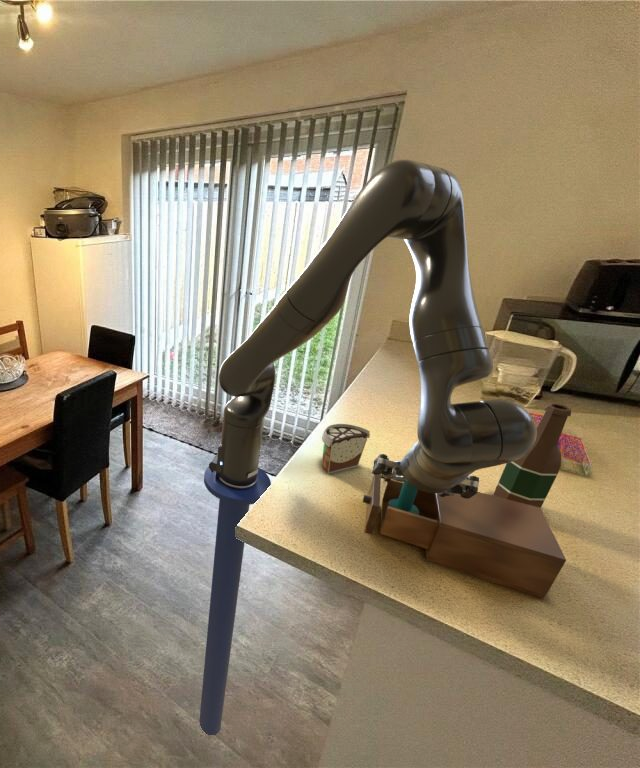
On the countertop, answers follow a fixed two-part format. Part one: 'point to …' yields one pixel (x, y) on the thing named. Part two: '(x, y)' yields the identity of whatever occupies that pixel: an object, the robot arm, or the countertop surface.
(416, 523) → the drawer
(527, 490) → the beer bottle
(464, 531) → the cabinet
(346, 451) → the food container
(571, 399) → the countertop surface
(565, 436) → the pink sprinkled snack box
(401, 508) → the teal flanged rod post
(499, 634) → the countertop surface
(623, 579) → the countertop surface
